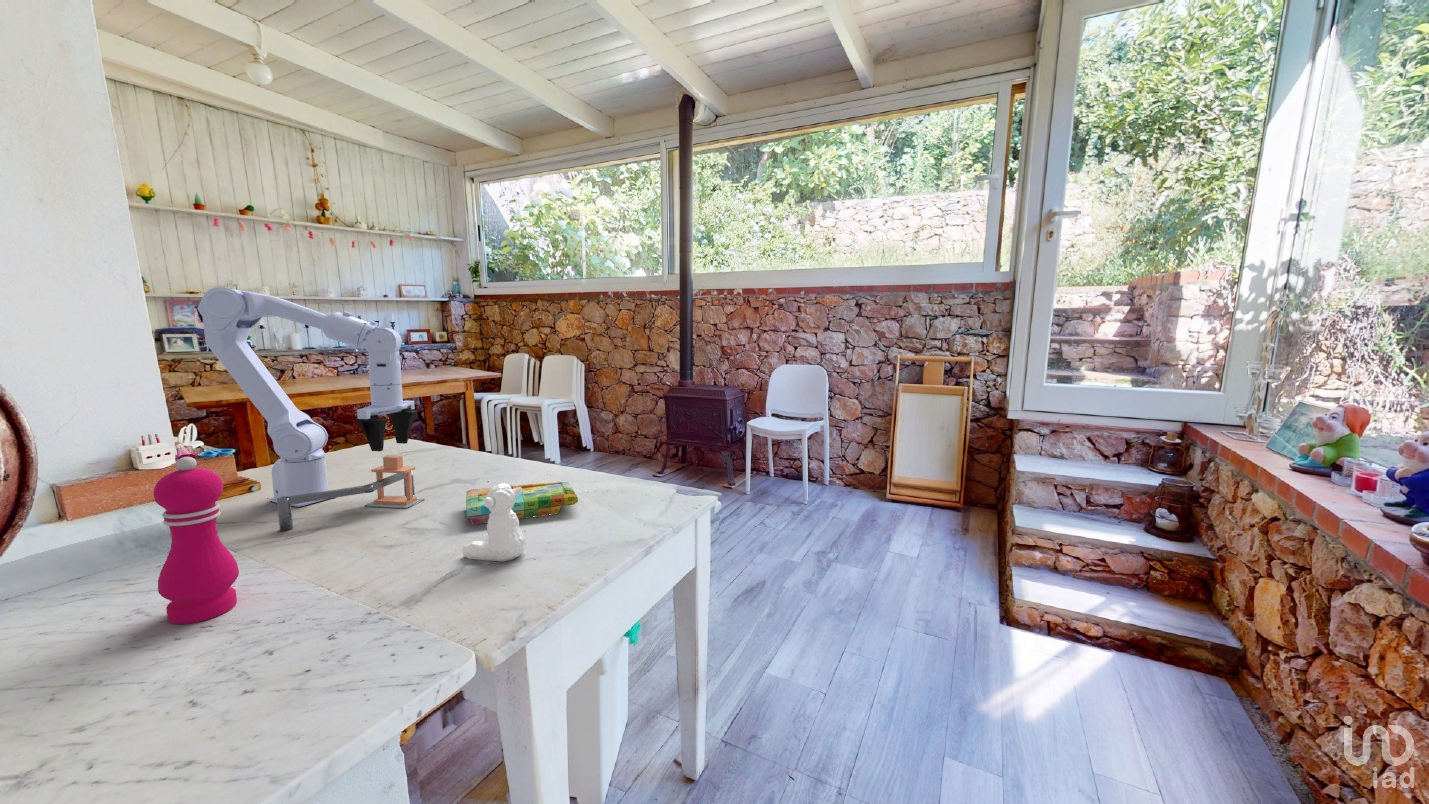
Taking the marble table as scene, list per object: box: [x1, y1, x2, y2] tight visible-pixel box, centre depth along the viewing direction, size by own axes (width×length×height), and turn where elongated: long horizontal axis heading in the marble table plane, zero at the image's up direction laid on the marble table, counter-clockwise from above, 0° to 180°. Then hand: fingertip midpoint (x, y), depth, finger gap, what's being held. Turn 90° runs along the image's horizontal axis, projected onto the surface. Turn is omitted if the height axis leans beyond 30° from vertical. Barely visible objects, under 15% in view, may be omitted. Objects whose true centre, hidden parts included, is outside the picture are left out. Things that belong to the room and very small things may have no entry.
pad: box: [364, 497, 424, 510], centre depth 107 cm, size 6×9×1 cm, turn 85°
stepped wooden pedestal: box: [370, 454, 418, 505], centre depth 106 cm, size 3×7×10 cm, turn 85°
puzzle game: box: [465, 480, 579, 525], centre depth 104 cm, size 12×5×20 cm
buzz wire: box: [276, 470, 415, 533], centre depth 101 cm, size 8×24×6 cm, turn 160°
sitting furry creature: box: [461, 482, 526, 563], centre depth 83 cm, size 10×9×12 cm
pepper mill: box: [153, 456, 240, 625], centre depth 64 cm, size 7×7×20 cm
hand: (390, 446), depth 111 cm, fingers open, 7 cm apart
